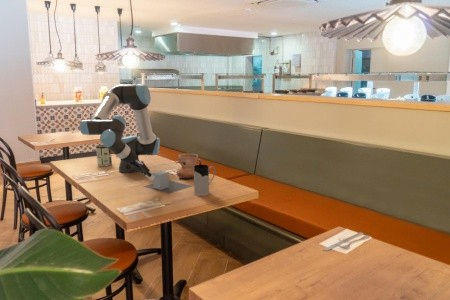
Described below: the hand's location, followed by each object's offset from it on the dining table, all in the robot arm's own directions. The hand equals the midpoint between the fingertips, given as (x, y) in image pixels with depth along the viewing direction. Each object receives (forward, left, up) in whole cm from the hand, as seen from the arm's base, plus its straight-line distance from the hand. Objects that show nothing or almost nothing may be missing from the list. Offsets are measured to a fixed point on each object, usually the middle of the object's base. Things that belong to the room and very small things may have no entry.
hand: (152, 178), depth 206 cm
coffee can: (-81, +21, -7) cm, 84 cm away
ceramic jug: (-6, +34, -7) cm, 35 cm away
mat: (0, +11, -7) cm, 13 cm away
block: (0, +6, -7) cm, 9 cm away
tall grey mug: (+24, +17, -7) cm, 30 cm away
